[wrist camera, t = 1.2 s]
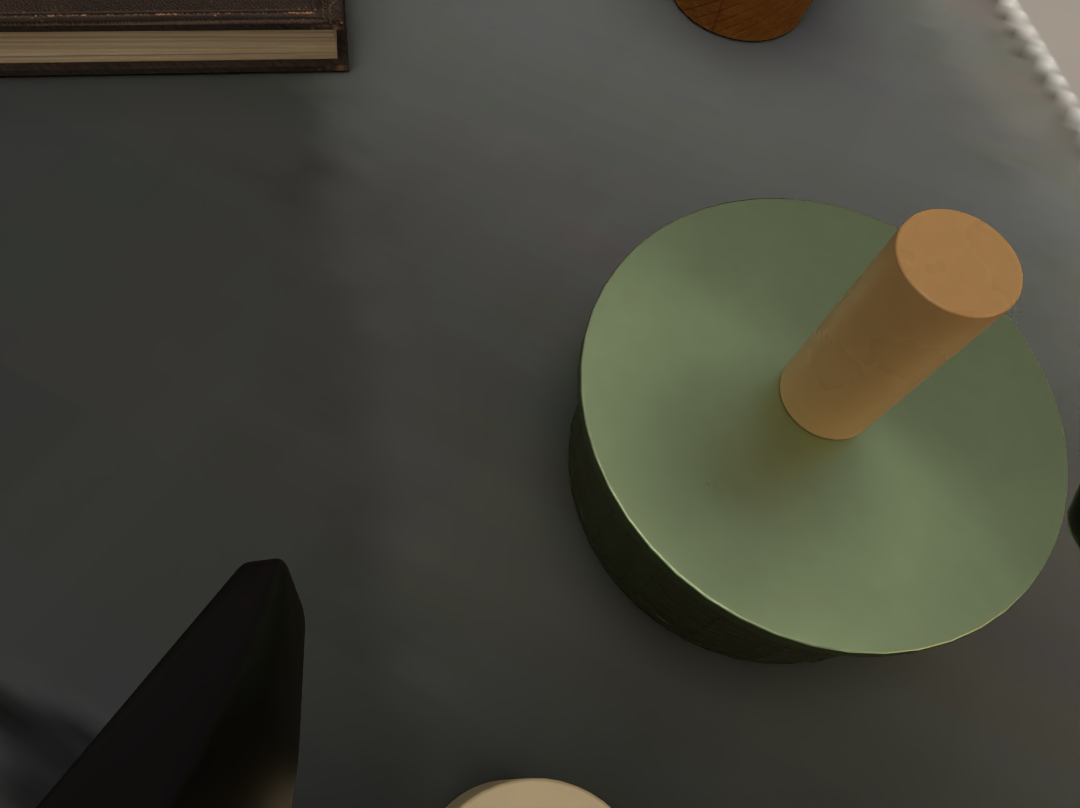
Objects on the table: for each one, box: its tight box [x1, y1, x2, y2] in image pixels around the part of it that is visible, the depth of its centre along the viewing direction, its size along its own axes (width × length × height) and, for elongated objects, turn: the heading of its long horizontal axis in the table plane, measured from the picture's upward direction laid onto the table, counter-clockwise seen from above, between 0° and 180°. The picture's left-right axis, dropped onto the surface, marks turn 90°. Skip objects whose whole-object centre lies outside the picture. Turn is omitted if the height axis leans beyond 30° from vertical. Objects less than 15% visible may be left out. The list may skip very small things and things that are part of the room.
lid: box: [578, 198, 1068, 657], centre depth 19 cm, size 13×13×7 cm
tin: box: [569, 406, 838, 664], centre depth 24 cm, size 12×12×5 cm
